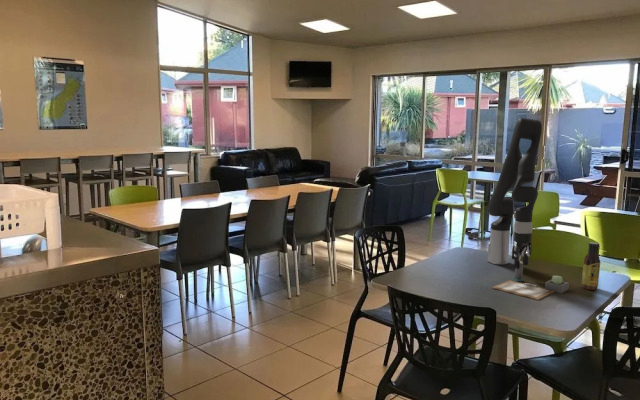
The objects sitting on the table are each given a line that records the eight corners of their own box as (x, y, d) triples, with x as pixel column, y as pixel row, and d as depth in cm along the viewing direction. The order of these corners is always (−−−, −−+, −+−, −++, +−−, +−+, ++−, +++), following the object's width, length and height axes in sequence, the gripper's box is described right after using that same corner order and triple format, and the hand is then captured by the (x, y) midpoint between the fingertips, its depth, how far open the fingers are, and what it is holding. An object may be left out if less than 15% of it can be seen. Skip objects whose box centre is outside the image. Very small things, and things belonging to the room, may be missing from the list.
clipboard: (492, 288, 221) (492, 286, 221) (509, 281, 231) (509, 278, 231) (538, 300, 206) (538, 297, 206) (554, 292, 216) (554, 289, 216)
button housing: (544, 289, 220) (545, 282, 220) (551, 285, 225) (552, 279, 224) (561, 293, 215) (561, 286, 215) (568, 289, 220) (568, 282, 219)
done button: (550, 284, 220) (550, 276, 219) (554, 282, 222) (554, 274, 222) (559, 286, 217) (560, 278, 216) (563, 284, 220) (564, 276, 219)
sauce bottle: (591, 291, 217) (595, 245, 214) (578, 287, 223) (581, 242, 220) (601, 289, 220) (605, 243, 217) (587, 285, 226) (591, 240, 223)
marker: (513, 280, 232) (514, 261, 231) (516, 278, 235) (517, 260, 233) (520, 281, 230) (521, 263, 229) (523, 280, 232) (524, 261, 231)
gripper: (521, 227, 236) (520, 262, 239) (507, 232, 227) (505, 268, 229) (538, 230, 231) (536, 265, 233) (524, 234, 221) (522, 271, 223)
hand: (521, 266), depth 231 cm, fingers open, 8 cm apart
